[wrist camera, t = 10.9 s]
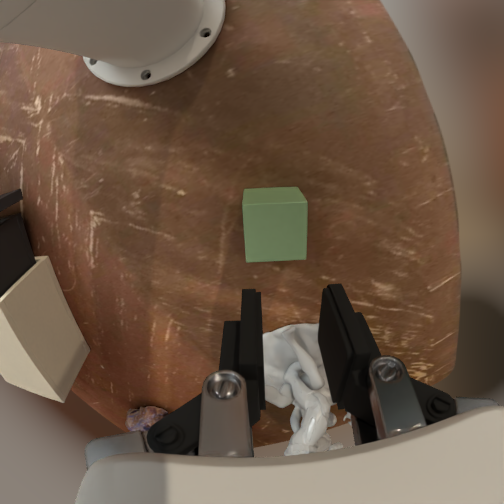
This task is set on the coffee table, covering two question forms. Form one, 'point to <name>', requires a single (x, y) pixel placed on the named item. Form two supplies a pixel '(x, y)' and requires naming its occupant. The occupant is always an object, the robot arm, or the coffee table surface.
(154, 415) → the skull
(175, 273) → the coffee table surface
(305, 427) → the figurine
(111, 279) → the coffee table surface
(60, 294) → the cream drawer box
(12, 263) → the dark grey drawer
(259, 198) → the block
